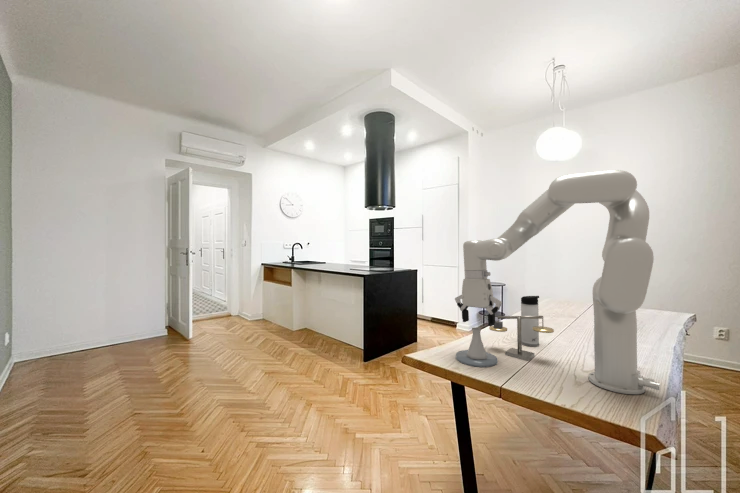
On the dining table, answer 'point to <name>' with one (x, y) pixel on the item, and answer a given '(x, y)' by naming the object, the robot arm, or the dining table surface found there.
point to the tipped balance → (519, 335)
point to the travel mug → (529, 321)
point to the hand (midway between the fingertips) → (478, 323)
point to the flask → (476, 346)
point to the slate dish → (466, 360)
